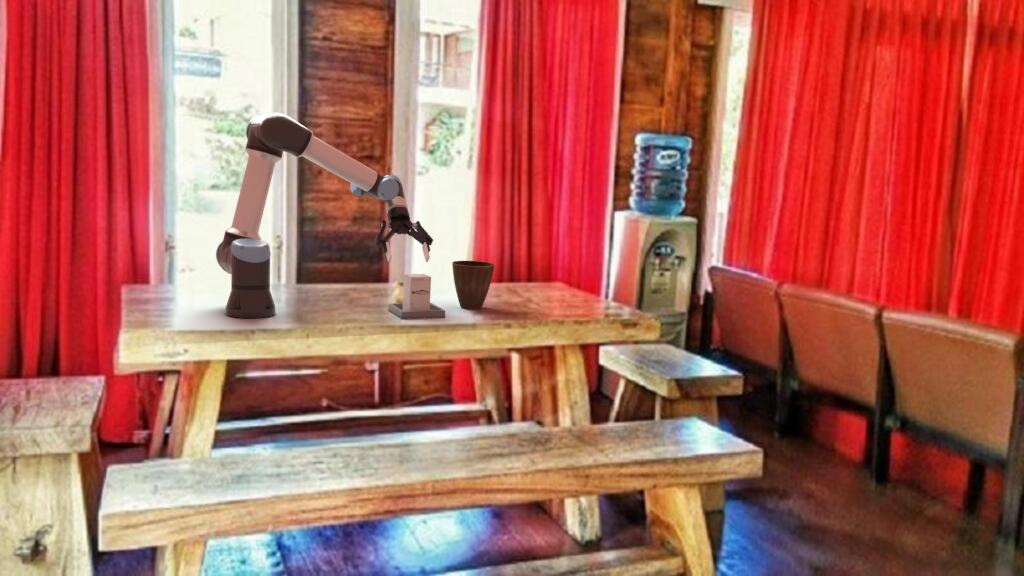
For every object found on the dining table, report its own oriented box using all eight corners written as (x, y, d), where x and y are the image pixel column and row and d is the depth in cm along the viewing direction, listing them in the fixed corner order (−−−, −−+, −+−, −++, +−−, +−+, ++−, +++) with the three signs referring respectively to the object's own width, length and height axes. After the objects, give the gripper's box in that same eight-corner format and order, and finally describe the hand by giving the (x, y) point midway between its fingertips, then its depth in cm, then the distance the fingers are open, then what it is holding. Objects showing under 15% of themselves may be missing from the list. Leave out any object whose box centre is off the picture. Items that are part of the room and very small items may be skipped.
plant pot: (484, 303, 296) (486, 260, 293) (498, 311, 282) (500, 266, 280) (445, 304, 291) (447, 260, 288) (457, 312, 277) (459, 266, 274)
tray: (401, 319, 260) (401, 312, 260) (388, 310, 273) (388, 303, 273) (445, 317, 266) (445, 310, 266) (430, 309, 280) (430, 302, 279)
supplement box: (409, 314, 265) (410, 276, 263) (402, 310, 271) (403, 273, 270) (430, 314, 268) (431, 276, 266) (422, 309, 275) (424, 273, 273)
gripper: (428, 219, 295) (440, 265, 284) (361, 218, 285) (371, 266, 274) (433, 206, 290) (446, 252, 279) (365, 204, 279) (375, 252, 268)
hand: (409, 259), depth 276 cm, fingers open, 13 cm apart
